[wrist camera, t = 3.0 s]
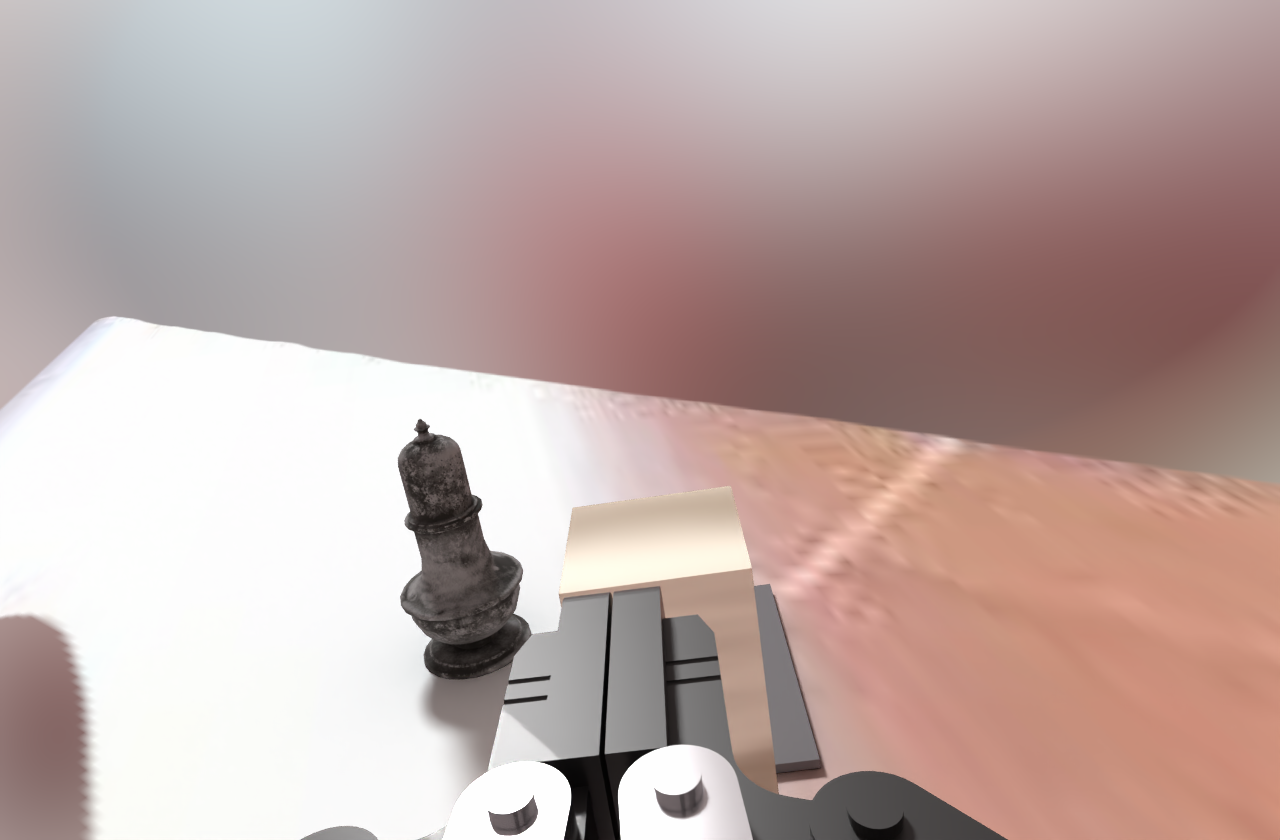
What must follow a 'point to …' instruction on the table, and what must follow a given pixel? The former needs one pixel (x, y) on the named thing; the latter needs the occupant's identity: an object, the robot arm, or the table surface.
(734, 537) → the birch block
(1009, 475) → the table surface
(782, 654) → the gray rectangular block
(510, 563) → the salt shaker
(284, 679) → the table surface
